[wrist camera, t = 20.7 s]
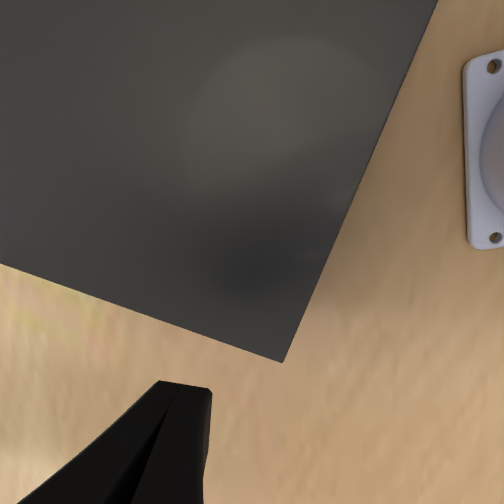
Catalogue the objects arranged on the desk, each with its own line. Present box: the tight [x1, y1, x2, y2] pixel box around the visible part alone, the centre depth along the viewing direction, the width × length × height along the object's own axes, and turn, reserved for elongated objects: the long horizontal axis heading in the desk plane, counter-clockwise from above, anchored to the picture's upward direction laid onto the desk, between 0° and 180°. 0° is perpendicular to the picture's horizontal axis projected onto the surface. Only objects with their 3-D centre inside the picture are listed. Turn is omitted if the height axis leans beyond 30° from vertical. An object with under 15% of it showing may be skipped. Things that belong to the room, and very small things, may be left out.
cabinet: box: [0, 0, 438, 363], centre depth 14 cm, size 15×14×5 cm
